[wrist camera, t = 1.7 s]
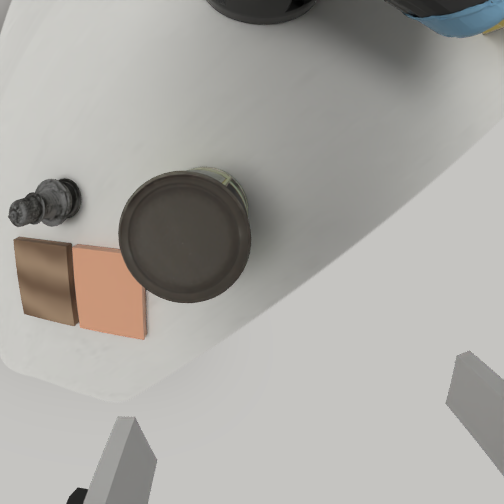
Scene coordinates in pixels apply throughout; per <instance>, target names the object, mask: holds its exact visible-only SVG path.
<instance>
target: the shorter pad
mask: <svg viewBox="0 0 504 504" xmlns="http://www.w3.org/2000/svg"><path fill="white" fill-rule="evenodd" d="M14 250H15V259H16V267H17V275H18V282H19V288H20V294H21V300H22V305H23V310H24V314H27V315H30V316H34V317H38V318H42V319H46V320H50V321H54V322H58V323H62V324H67V325H71V326H75V325H76V324H77V323H78V322H79V320H78V312H77V304H76V296H75V286H74V275H73V262H72V244H71V243H64V242H56V241H48V240H40V239H32V238H25V237H18V238H16V239H14Z"/></svg>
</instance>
